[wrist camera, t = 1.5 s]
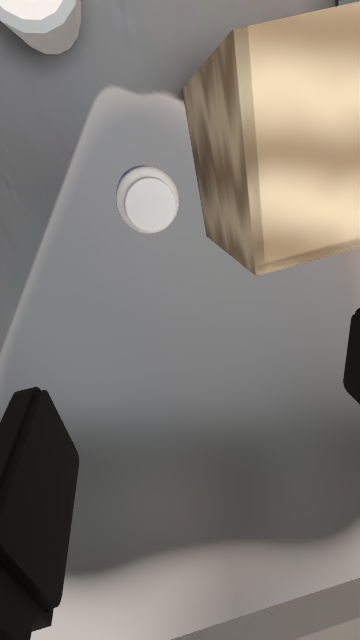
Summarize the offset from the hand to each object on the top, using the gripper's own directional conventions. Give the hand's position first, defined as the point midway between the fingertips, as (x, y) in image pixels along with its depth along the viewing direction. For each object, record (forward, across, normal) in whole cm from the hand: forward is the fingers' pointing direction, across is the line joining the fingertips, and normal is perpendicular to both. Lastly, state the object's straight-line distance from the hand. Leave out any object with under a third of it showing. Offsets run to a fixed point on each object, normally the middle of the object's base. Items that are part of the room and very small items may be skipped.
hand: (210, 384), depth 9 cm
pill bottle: (+28, -1, -3) cm, 28 cm away
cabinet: (+27, -14, -5) cm, 31 cm away
